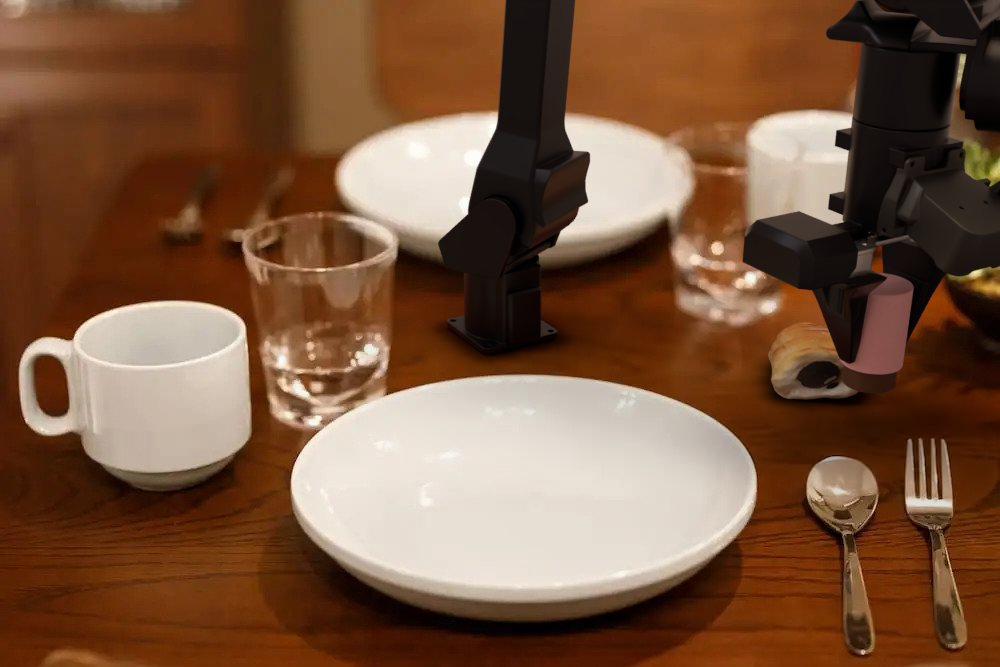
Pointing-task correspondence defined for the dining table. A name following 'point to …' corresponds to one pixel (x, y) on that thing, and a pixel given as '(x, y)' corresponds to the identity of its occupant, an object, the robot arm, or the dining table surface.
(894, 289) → the bottle
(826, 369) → the pastry
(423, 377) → the dining table surface
